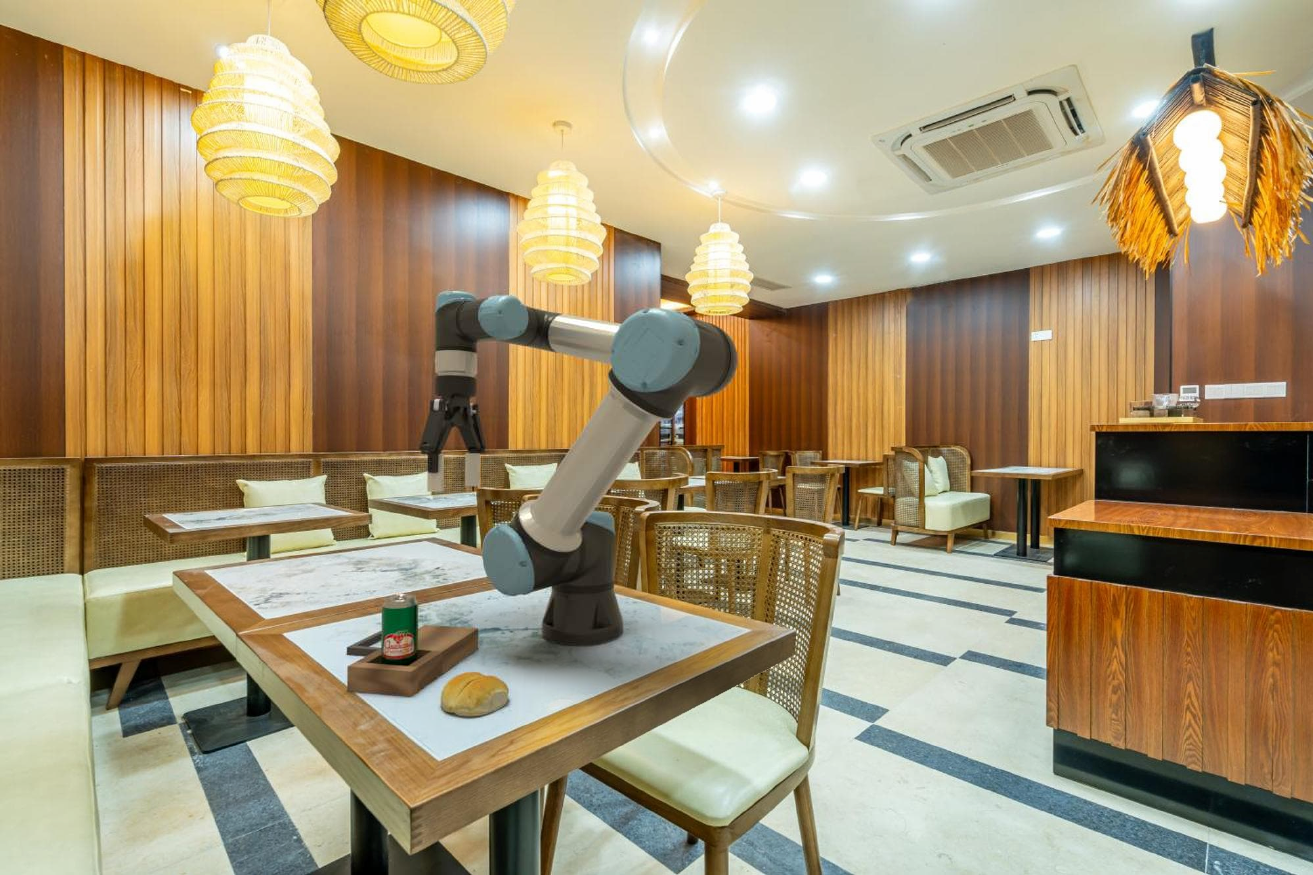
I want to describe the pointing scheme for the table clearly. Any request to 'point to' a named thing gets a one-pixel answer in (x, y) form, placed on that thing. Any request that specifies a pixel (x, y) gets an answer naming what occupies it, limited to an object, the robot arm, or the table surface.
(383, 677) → the caddy
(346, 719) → the table surface
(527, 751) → the table surface
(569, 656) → the table surface
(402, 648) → the soda can
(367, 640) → the dark square frame
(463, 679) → the bread roll
